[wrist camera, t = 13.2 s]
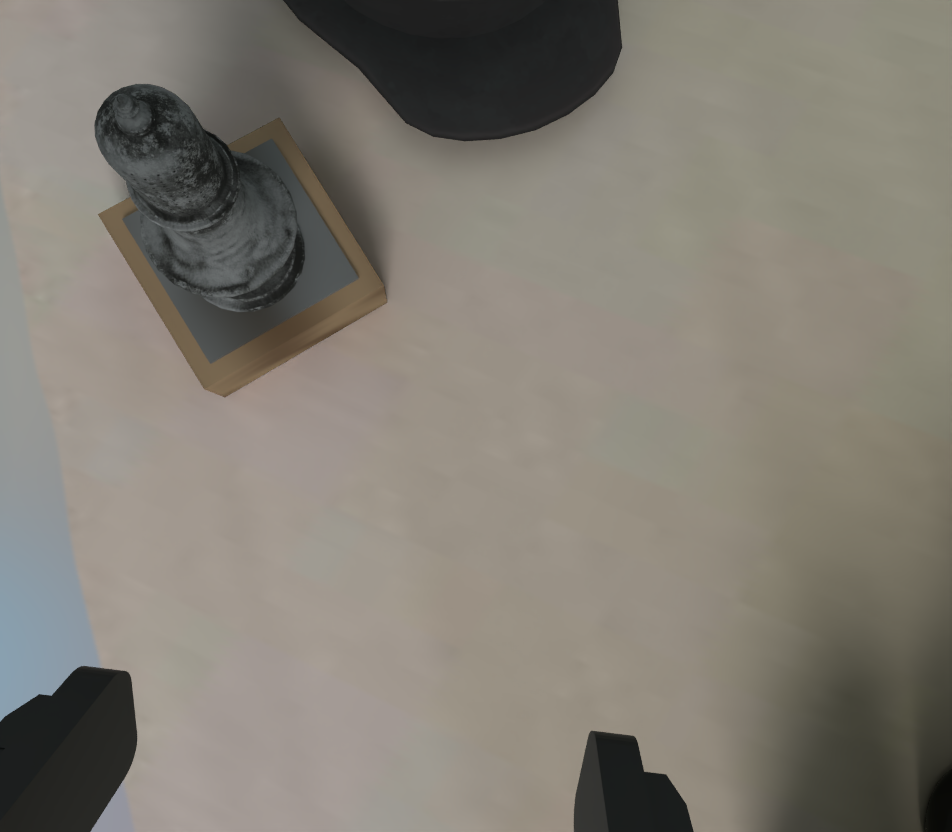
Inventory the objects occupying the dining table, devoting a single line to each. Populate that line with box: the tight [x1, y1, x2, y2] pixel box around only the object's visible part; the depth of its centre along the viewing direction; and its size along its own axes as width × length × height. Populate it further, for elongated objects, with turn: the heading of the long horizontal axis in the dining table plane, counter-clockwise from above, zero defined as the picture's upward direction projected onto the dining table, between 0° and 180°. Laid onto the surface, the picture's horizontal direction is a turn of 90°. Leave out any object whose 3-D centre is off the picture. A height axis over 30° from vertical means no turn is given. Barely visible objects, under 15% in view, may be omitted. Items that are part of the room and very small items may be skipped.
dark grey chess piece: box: [95, 84, 305, 312], centre depth 23 cm, size 6×6×12 cm
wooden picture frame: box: [98, 118, 387, 397], centre depth 30 cm, size 9×9×3 cm
